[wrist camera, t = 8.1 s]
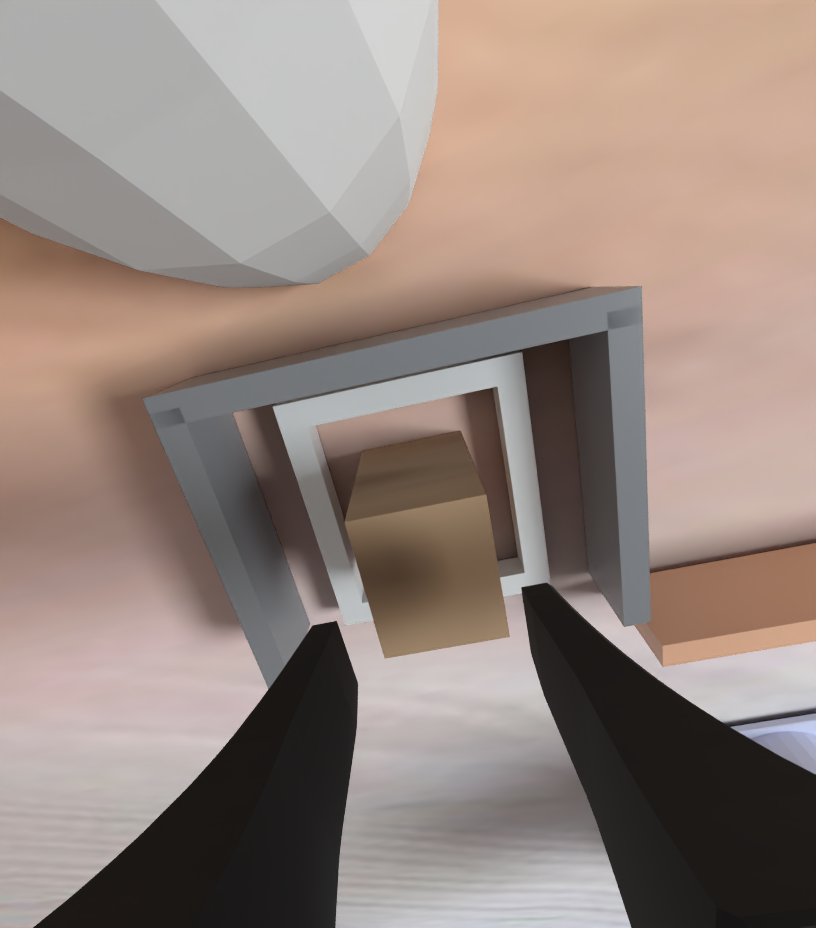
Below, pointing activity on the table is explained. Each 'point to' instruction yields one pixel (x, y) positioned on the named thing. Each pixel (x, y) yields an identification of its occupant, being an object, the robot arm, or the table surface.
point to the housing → (402, 384)
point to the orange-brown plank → (733, 606)
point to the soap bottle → (215, 130)
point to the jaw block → (425, 546)
